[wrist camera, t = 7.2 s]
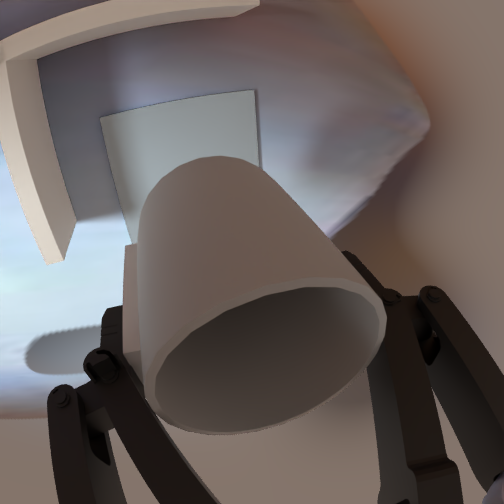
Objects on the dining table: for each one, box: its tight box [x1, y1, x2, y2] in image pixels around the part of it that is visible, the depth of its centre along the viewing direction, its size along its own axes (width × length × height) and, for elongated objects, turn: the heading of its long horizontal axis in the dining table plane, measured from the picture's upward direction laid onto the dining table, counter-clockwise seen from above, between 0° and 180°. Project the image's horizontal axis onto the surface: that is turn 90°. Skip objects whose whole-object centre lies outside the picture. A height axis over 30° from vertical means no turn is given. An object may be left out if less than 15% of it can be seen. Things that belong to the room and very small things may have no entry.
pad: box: [100, 90, 259, 244], centre depth 25 cm, size 12×12×1 cm
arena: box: [0, 0, 260, 265], centre depth 19 cm, size 17×16×6 cm
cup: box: [137, 155, 387, 435], centre depth 13 cm, size 7×10×9 cm
